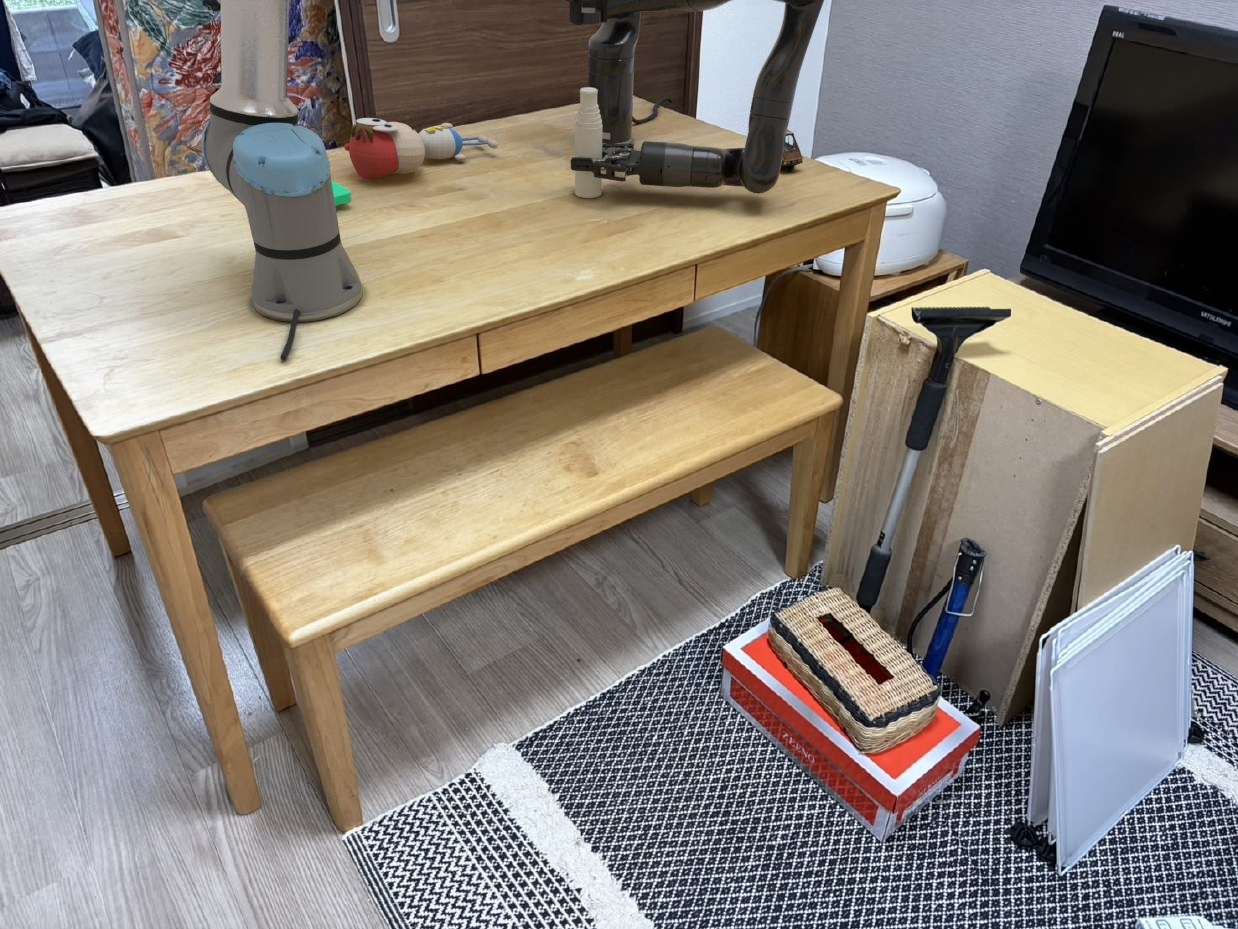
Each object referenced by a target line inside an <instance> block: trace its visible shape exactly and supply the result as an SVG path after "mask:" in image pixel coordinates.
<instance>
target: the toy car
mask: <svg viewBox="0 0 1238 929" xmlns="http://www.w3.org/2000/svg"><path fill="white" fill-rule="evenodd" d="M790 136H791V137H792V144H790ZM787 137H788V138H787ZM786 138H787V140H788V141H787V140H786ZM786 141H787V142H786ZM803 159H804V157H803V156H802V153H801V149H800V147H799V144H798V141H797V140H796V137H795V133H794V132H793V131H792V130H790V129H788V128H787V131H786V134H785V140H784V148H783V156H782V163H781V168H785V169H786V171H789V172H792V171H794V169H795V166H797V165H800V164H803V163H804V162H803Z"/></svg>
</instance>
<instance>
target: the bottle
mask: <svg viewBox="0 0 1238 929" xmlns="http://www.w3.org/2000/svg"><path fill="white" fill-rule="evenodd" d="M597 94H598V90H597V89H596V88H591V87H588V86H587V87H581V88H580V90H579V104H578V109H577V113H576V116H575V117H576V118H575V120H574V157H582V158H592V159H593V158H602V119H601V115H600V110H599V109H598V108H599V106H598V105H597ZM601 169H603V168H602V167H601ZM602 180H603V179H602V178H596V177H594V174H593V173H592V171H591V172H589V171H574V194H575V195H576V196H577V197H578V198H579V197H580V198H583V199H594V198H598V197H600V196H601V195H602V187H603V186H602V184H603V181H602Z"/></svg>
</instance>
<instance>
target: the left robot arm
mask: <svg viewBox="0 0 1238 929" xmlns="http://www.w3.org/2000/svg"><path fill="white" fill-rule="evenodd" d="M565 2H568V3H569V23H571V24H573V25H576V26H582V25H583V24H582V0H565ZM595 8H596V9H600V10H601V13H602V15H601V23H602V24H603V23H605V22H607V0H595ZM289 29H290V0H220V60H221V62H220V64H221V65H220V67H221V86H220V88H219V89H218V90H217V91H215V92H214V93H213V94H212V95H211V96H210V98H209V119H208V120H207V122H206V124H205V126H204V127H203V131H202V134H201V151H202V156H203V158H204V161H205V164H206V166H207V167H208V169H209V172H211V174H212V176H213V177H214V179H215V180H216V181H217V182H218V183H219V184H220V185H221V186H222V187H223V188H224V189H226V190H227V191H229V193H231V195H233V197H235V199H237V201H239V203H241V204H242V205H243V206H244V209H245V212H246V215H247V219H248V220H247V221H248V224H249V228H250V234H251V237H252V238H251V239H252V242H253V247H254V251H255V258H254V264H253V273H252V283H251V299H252V303H253V307H254V309H255V310H256V311H257V313H259V314H260V315H262V316H264V317H266V318H268V319H271V320H275V321H281V322H289V323H290V327H289V331H288V336H287V340H286V343H285V345H284V348H283V349H282V352H281V354H280V358H279V359H280V360H281V361H286V360H287V358H288V356H289V353H290V351H291V350H292V346H293V343H294V340H295V337H296V336H295V335H296V331H297V326H298V323H304V322H314V321H315V322H316V321H320V320H326V319H330V318H332V317H336V316H338V315H341V314H343V313H345V312H348V311H349V310H351V309H353V308H354V307H355V306H356V305H357V304H358V303H359V302H360V301H361V298H362V297H363V287H362V282H361V279H360V276H359V274H358V272H357V270H356V268H355V266H354V264H353V263H352V261H351V259H350V257H349V255H348V253H347V251H346V250H345V248H344V245H343V243H342V239H341V233H340V225H339V220H338V214H337V207H336V206H335V200H334V194H333V188H332V181H333V180H332V177H331V175H332V174H331V162H330V160H329V156H328V154H327V151H326V146H325V144H324V141H323V140H322V138H321V137H320V136H319V135H318V134H317V133H316V132H314V131H313V130H311V129H309V128H307V127H305V126H302V125H299V109H298V108H297V107H296V105H295V104H294V103H293V102H292V101H291V99H290V98H289V96H288V82H289V81H288V79H289V77H288V76H289V37H290V36H289V33H290V32H289V31H290V30H289Z"/></svg>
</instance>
